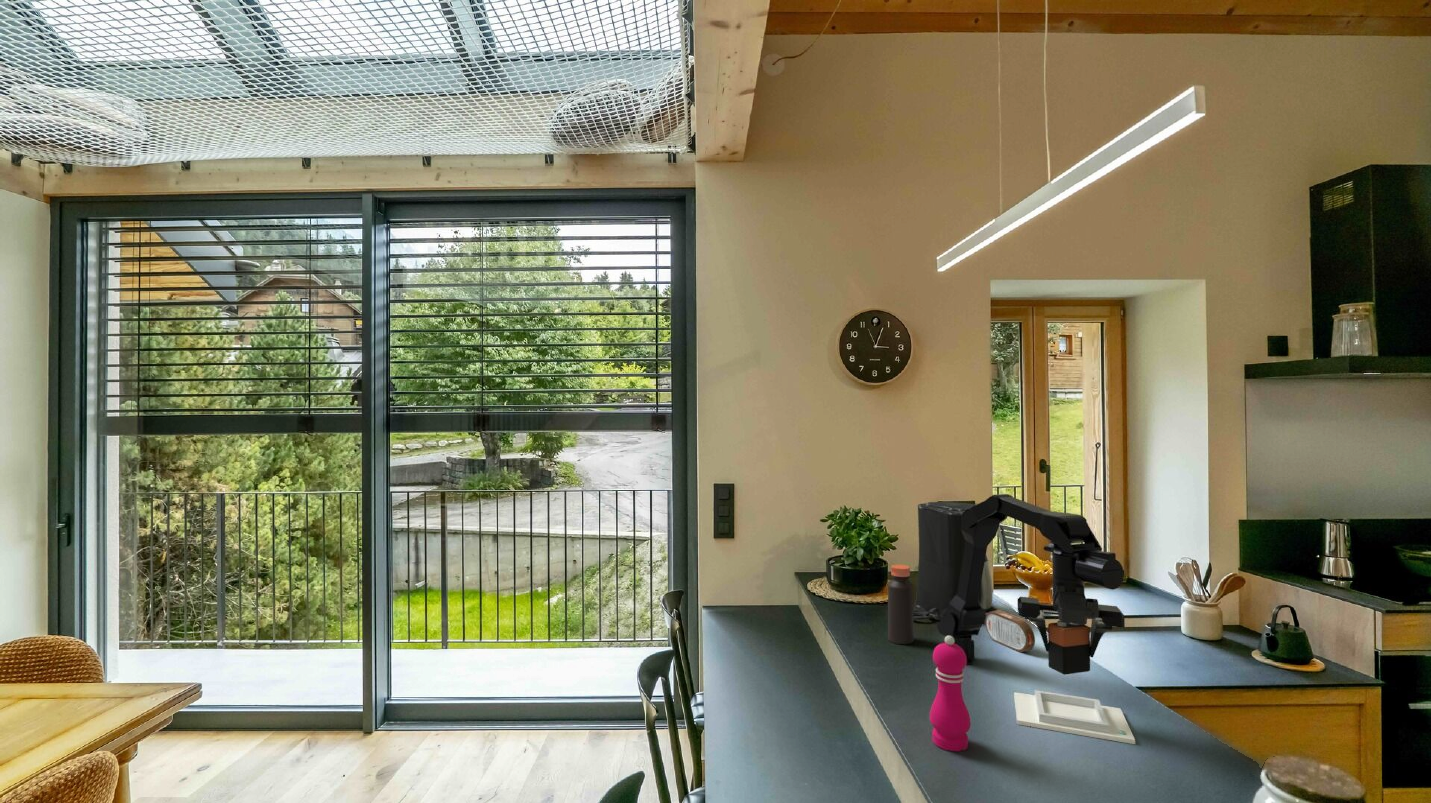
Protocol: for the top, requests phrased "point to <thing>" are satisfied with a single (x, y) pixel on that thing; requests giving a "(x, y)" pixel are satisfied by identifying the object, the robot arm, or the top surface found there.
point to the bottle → (900, 606)
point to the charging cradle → (1072, 716)
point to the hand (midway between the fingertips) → (1069, 653)
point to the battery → (1069, 647)
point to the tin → (1010, 630)
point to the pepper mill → (949, 698)
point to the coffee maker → (943, 560)
